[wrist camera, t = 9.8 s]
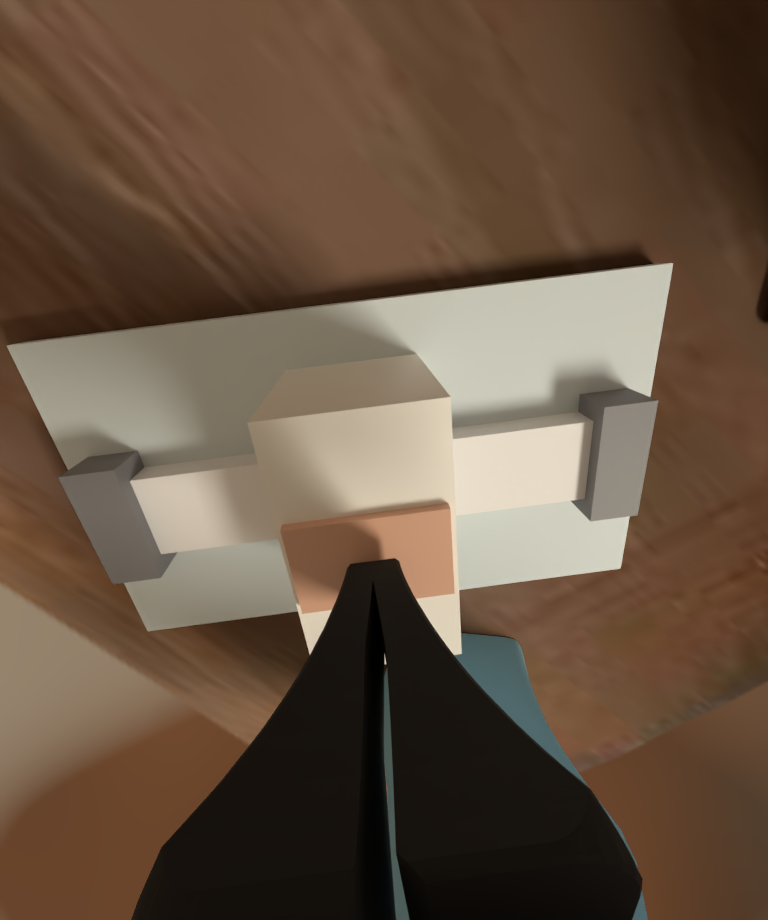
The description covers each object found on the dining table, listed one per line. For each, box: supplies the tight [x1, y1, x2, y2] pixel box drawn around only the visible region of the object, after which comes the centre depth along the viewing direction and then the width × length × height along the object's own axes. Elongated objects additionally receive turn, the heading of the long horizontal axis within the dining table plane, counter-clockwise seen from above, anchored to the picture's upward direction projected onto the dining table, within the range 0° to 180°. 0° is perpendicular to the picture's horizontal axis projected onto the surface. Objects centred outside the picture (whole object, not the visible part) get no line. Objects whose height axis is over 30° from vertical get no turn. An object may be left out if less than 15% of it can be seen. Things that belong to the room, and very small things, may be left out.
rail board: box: [7, 263, 673, 631], centre depth 17 cm, size 24×14×3 cm, turn 97°
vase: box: [384, 633, 648, 920], centre depth 16 cm, size 8×8×20 cm
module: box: [247, 354, 462, 664], centre depth 14 cm, size 5×9×6 cm, turn 6°
